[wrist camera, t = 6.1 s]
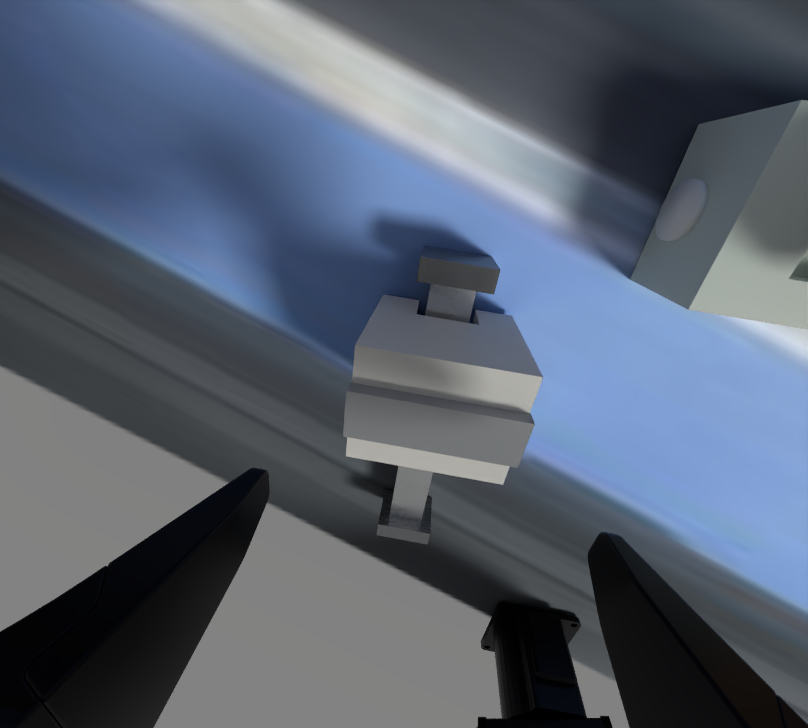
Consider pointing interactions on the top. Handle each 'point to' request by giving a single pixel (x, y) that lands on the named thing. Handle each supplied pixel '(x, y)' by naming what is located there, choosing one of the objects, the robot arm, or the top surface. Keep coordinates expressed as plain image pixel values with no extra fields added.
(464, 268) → the rail
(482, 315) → the carriage
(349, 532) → the top surface
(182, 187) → the top surface
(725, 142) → the cabinet
